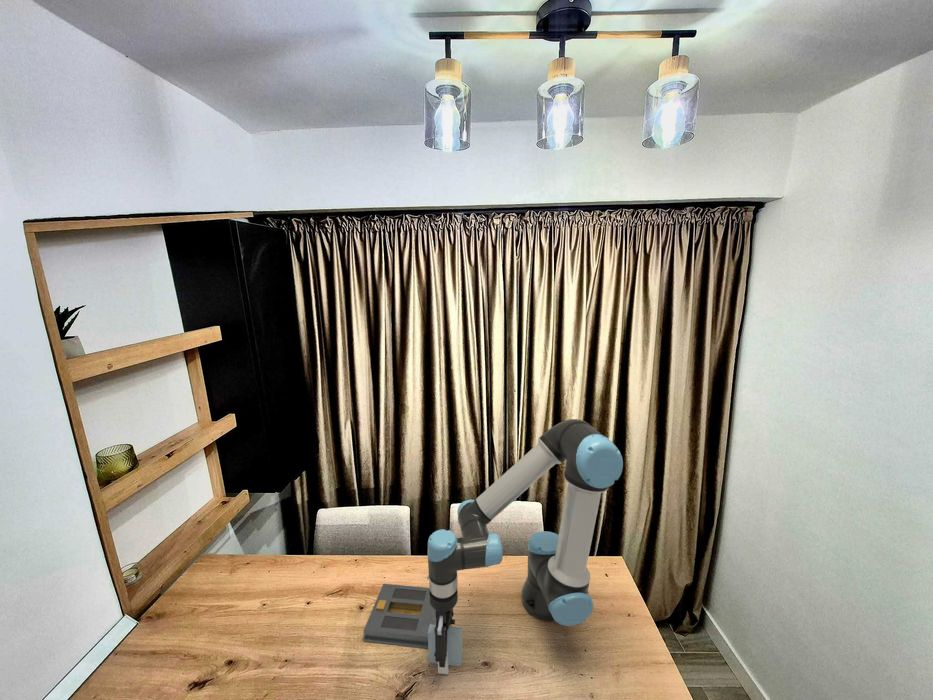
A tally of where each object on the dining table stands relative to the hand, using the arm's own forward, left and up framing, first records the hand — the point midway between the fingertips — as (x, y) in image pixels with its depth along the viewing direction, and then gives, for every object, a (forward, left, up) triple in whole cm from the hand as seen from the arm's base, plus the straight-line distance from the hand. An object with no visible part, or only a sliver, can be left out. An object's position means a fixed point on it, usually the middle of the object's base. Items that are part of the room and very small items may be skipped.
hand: (445, 658), depth 102 cm
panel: (0, 0, -1) cm, 1 cm away
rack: (+15, -12, -1) cm, 19 cm away
